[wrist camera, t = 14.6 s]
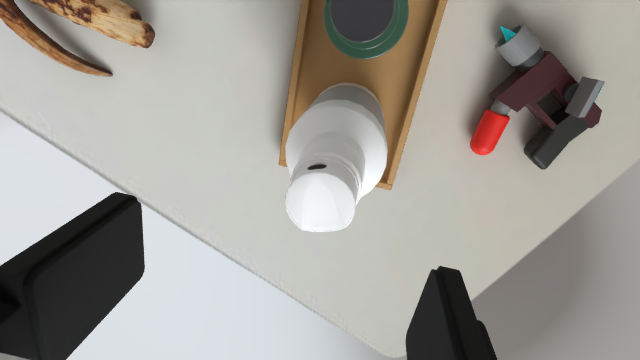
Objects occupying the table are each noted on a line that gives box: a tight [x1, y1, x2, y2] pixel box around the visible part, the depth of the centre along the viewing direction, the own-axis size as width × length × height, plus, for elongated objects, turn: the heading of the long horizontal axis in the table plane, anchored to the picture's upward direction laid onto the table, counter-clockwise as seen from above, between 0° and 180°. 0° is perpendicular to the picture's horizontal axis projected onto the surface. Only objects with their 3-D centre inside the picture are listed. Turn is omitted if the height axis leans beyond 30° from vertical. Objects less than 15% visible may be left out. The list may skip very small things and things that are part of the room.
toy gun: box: [470, 24, 605, 169], centre depth 29 cm, size 10×12×5 cm
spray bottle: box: [285, 83, 388, 232], centre depth 25 cm, size 7×7×18 cm
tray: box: [279, 0, 447, 190], centre depth 30 cm, size 24×11×2 cm, turn 170°
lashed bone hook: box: [0, 0, 155, 76], centre depth 31 cm, size 9×5×18 cm
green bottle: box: [324, 0, 409, 59], centre depth 22 cm, size 5×5×18 cm
